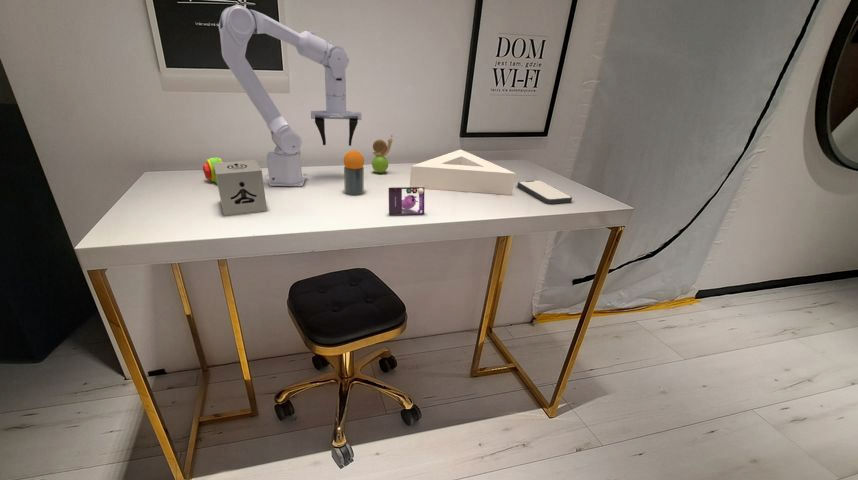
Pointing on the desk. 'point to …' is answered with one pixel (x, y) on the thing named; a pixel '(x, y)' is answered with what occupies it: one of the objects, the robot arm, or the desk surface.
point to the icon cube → (240, 187)
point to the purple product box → (405, 200)
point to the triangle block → (462, 174)
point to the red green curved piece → (211, 169)
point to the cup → (354, 181)
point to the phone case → (544, 192)
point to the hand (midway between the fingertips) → (337, 144)
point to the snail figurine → (381, 155)
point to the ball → (353, 160)
